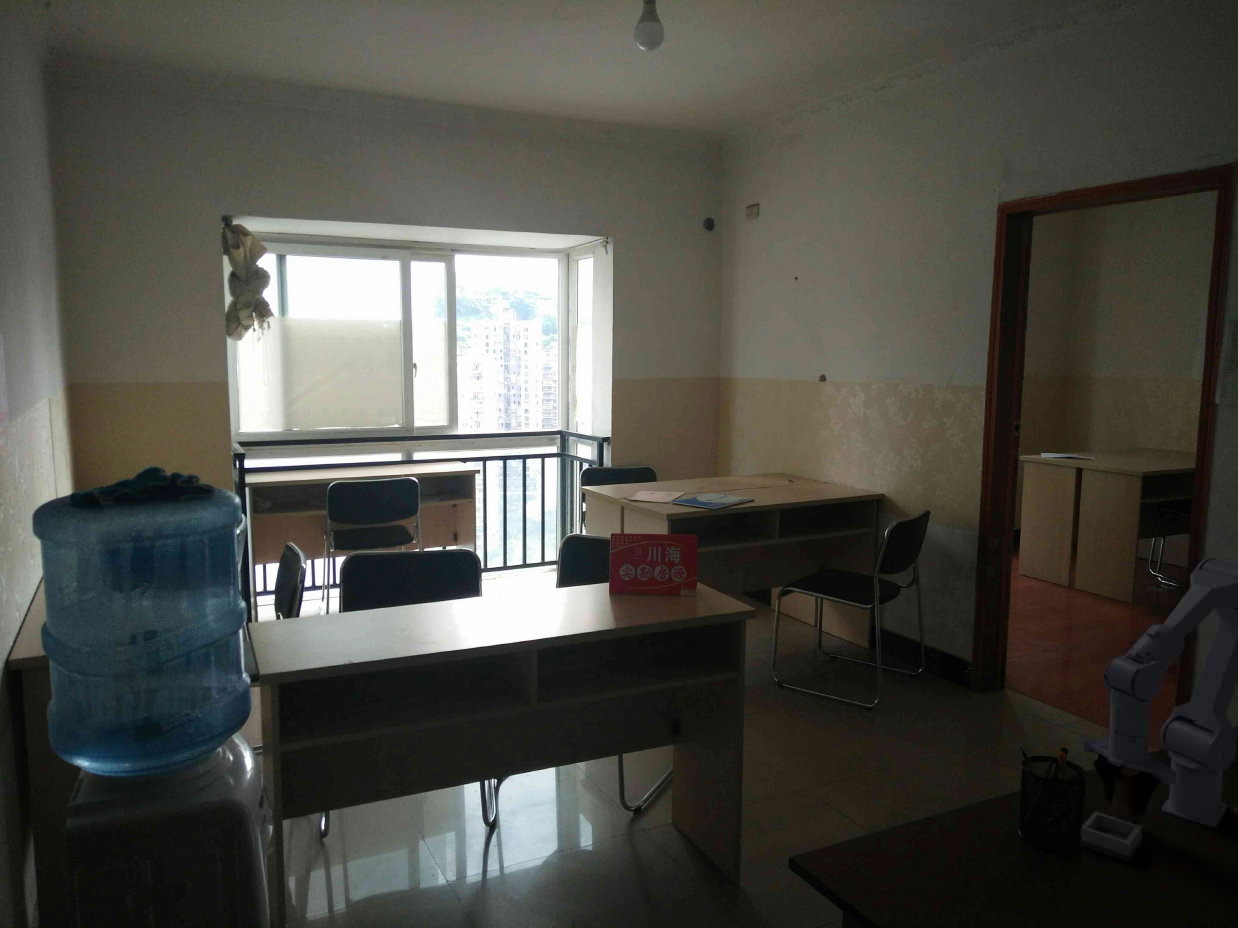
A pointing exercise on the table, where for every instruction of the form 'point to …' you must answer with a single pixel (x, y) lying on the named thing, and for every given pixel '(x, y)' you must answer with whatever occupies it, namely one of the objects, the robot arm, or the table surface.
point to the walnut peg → (1123, 798)
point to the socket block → (1111, 836)
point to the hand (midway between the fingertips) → (1125, 806)
